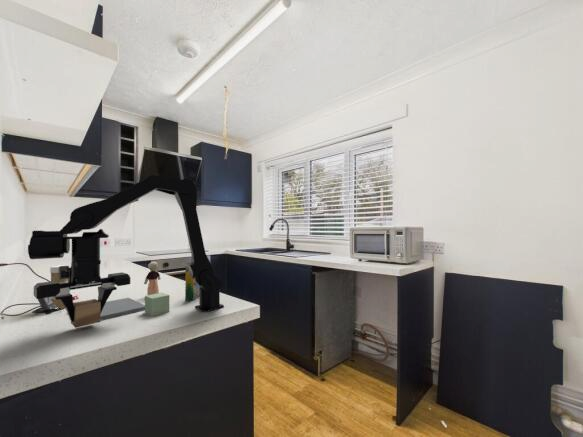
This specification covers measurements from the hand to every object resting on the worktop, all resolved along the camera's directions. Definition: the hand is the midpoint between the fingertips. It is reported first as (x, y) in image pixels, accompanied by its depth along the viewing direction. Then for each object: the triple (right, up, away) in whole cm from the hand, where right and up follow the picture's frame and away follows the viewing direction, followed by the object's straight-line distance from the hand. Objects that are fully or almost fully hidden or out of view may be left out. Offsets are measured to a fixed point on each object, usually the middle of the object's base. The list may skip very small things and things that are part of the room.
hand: (85, 318), depth 67 cm
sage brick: (+12, -3, +12) cm, 17 cm away
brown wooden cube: (0, -1, 0) cm, 1 cm away
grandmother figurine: (+1, -4, +31) cm, 31 cm away
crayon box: (+17, -3, +27) cm, 33 cm away
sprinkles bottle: (-22, -4, +17) cm, 28 cm away
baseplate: (-4, -3, +14) cm, 15 cm away
